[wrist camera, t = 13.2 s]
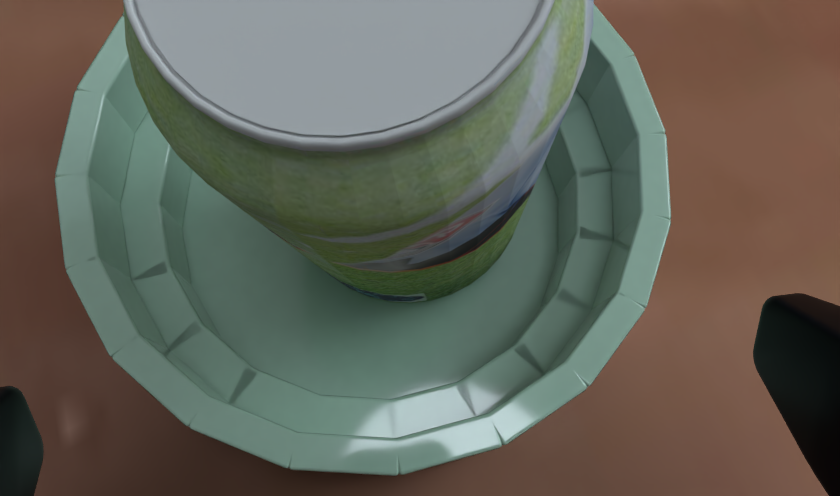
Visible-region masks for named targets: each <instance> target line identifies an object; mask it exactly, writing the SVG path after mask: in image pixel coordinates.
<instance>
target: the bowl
mask: <svg viewBox="0 0 840 496" xmlns="http://www.w3.org/2000/svg"><path fill="white" fill-rule="evenodd" d="M122 15H123V17H120V19H119V20H118V22H117V24H116V25H115V27H114V28H113V30H112V32H111V33H110V35H109V36H108V38H107V40H106V41H105V43H104V44H103V46H102V48H101V49H100V51H99V52H98V54H97V56H96V57H95V59H94V60H93V62H92V64H91V65H90V67H89V68H88V70H87V72H86V73H85V75H84V76H83V78H82V80H81V81H80V83H79V84H78V86H77V90H76V91H75V92H74V96H73V101H72V105H71V109H70V113H69V118H68V122H67V126H66V130H65V135H64V139H63V143H62V147H61V152H60V156H59V160H58V164H57V169H56V173H55V175H56V177H55V187H56V196H57V204H58V213H59V221H60V230H61V238H62V246H63V255H64V263H65V268H66V273H67V275H68V277H69V279H70V281H71V283H72V284H73V286H74V288H75V290H76V292H77V294H78V296H79V298H80V300H81V302H82V304H83V306H84V308H85V310H86V312H87V314H88V315H89V317H90V319H91V321H92V323H93V325H94V327H95V329H96V331H97V333H98V335H99V337H100V339H101V341H102V343H103V344H104V346H105V348H106V350H107V352H108V354H109V356H111V357H112V358H113V360H114V361H115V362H116V363H117V364H118V365H119V366H120V367H121V368H122V369H123V370H125V371H126V372H127V373H128V374H129V375H130V376H131V377H132V378H133V379H134V380H136V381H137V382H138V383H139V384H140V385H141V386H142V387H143V388H144V389H145V390H147V391H148V392H149V393H150V394H151V395H152V396H153V397H154V398H155V399H156V400H158V401H159V402H160V403H161V404H162V405H163V406H164V407H165V408H166V409H167V410H169V411H170V412H171V413H172V414H173V415H174V416H175V417H176V418H177V419H178V420H180V421H181V422H182V423H183V424H184V425H185V426H189V428H190V429H191V430H194V431H196V432H199V433H201V434H204V435H206V436H208V437H211V438H213V439H216V440H218V441H220V442H223V443H225V444H228V445H230V446H233V447H235V448H237V449H240V450H242V451H245V452H247V453H249V454H252V455H254V456H257V457H259V458H261V459H264V460H266V461H269V462H271V463H274V464H276V465H278V466H281V467H283V468H289V469H291V470H303V471H320V472H337V473H355V474H372V475H389V476H396V475H398V473H399V474H401V475H404V474H408V473H412V472H415V471H419V470H422V469H426V468H429V467H433V466H437V465H440V464H444V463H447V462H451V461H455V460H458V459H462V458H465V457H469V456H473V455H476V454H480V453H483V452H487V451H491V450H494V449H498V448H500V447H501V446H502V445H507V444H508V443H510V442H511V441H513V440H514V439H516V438H517V437H519V436H520V435H521V434H523V433H524V432H526V431H527V430H529V429H530V428H532V427H533V426H534V425H536V424H537V423H539V422H540V421H542V420H543V419H545V418H546V417H547V416H549V415H550V414H552V413H553V412H555V411H556V410H558V409H559V408H561V407H562V406H563V405H565V404H566V403H568V402H569V401H571V400H572V399H574V398H575V397H576V396H578V395H579V394H581V393H582V392H584V391H585V390H586V389H587V387H588V386H590V385H591V384H592V383H593V382H594V380H595V379H596V377H597V376H598V375H599V373H600V372H601V370H602V369H603V368H604V366H605V365H606V364H607V362H608V361H609V359H610V358H611V357H612V355H613V354H614V353H615V351H616V350H617V348H618V347H619V346H620V344H621V343H622V341H623V340H624V339H625V337H626V336H627V335H628V333H629V332H630V330H631V329H632V328H633V326H634V325H635V323H636V322H637V321H638V319H639V318H640V317H641V315H642V314H643V312H644V308H646V307H647V304H648V301H649V297H650V294H651V291H652V287H653V284H654V280H655V277H656V273H657V270H658V266H659V263H660V259H661V256H662V253H663V249H664V246H665V242H666V239H667V235H668V232H669V228H670V225H671V221H670V219H671V207H670V190H669V172H668V155H667V137H666V134H665V129H664V126H663V124H662V121H661V119H660V116H659V114H658V111H657V109H656V106H655V104H654V101H653V99H652V96H651V94H650V91H649V89H648V86H647V84H646V81H645V79H644V76H643V74H642V71H641V69H640V66H639V64H638V61H637V59H636V57H635V56H634V52H633V51H632V50H631V49H630V47H629V46H628V45H627V44H626V43H625V41H624V40H623V39H622V38H621V36H620V35H619V34H618V33H617V32H616V30H615V29H614V28H613V27H612V25H611V24H610V23H609V22H608V21H607V19H606V18H605V17H604V16H603V14H602V13H601V12H600V11H599V10H598V8H597V7H596V6H595V5H594V3H593V28H592V33H591V38H590V43H589V48H588V53H587V58H586V63H585V67H584V69H583V72H582V74H581V77H580V79H579V82H578V84H577V87H576V89H575V92H574V94H573V97H572V99H571V102H570V104H569V106H568V109H567V111H566V113H565V116H564V118H563V120H562V123H561V125H560V127H559V130H558V132H557V134H556V136H555V139H554V141H553V143H552V146H551V148H550V150H549V153H548V155H547V157H546V160H545V162H544V164H543V167H542V169H541V171H540V174H539V176H538V178H537V181H536V183H535V185H534V188H533V190H532V192H531V195H530V197H529V199H528V201H527V204H526V206H525V208H524V211H523V213H522V215H521V218H520V220H519V222H518V225H517V227H516V229H515V232H514V234H513V236H512V239H511V241H510V242H509V244H508V245H507V247H506V249H505V250H504V252H503V253H502V255H501V256H500V258H499V259H498V260H497V261H496V262H495V263H494V264H493V265H492V267H491V268H490V269H489V270H488V271H487V272H486V273H485V274H483V275H482V276H481V277H479V278H478V279H477V280H475V281H474V282H473V283H472V284H470V285H468V286H467V287H465V288H463V289H461V290H459V291H457V292H455V293H453V294H451V295H448V296H445V297H441V298H438V299H435V300H432V301H424V302H417V303H395V302H387V301H383V300H378V299H374V298H370V297H367V296H365V295H363V294H360V293H358V292H355V291H353V290H351V289H350V288H348V287H346V286H345V285H343V284H342V283H340V282H339V281H337V280H336V279H334V278H333V277H332V276H330V275H329V274H328V273H326V272H325V271H323V270H322V269H321V268H319V267H318V266H317V265H315V264H314V263H313V262H311V261H310V260H309V259H307V258H306V257H305V256H303V255H302V254H301V253H299V252H298V251H297V250H295V249H294V248H293V247H291V246H290V245H289V244H287V243H286V242H285V241H283V240H282V239H281V238H279V237H278V236H277V235H275V234H274V233H273V232H271V231H270V230H269V229H267V228H266V227H265V226H263V225H262V224H260V223H259V222H258V221H256V220H255V219H254V218H252V217H251V216H250V215H248V214H247V213H246V212H244V211H243V210H242V209H240V208H239V207H238V206H236V205H235V204H234V203H232V202H231V201H230V200H228V199H227V198H226V197H224V196H223V195H222V194H220V193H219V192H218V191H216V190H215V189H214V188H212V187H211V186H210V185H208V184H207V183H206V182H205V181H204V180H203V179H202V178H201V177H200V176H199V175H197V174H196V173H195V172H194V171H193V170H192V169H191V168H190V167H189V166H188V165H187V164H186V163H185V162H184V161H183V160H182V159H181V158H180V157H179V156H178V155H177V154H176V153H175V151H174V150H173V149H172V147H171V146H170V144H169V143H168V142H167V140H166V139H165V138H164V136H163V135H162V133H161V132H160V131H159V129H158V128H157V126H156V125H155V124H154V122H153V120H152V118H151V116H150V114H149V112H148V110H147V107H146V105H145V103H144V101H143V99H142V97H141V94H140V92H139V90H138V88H137V86H136V83H135V79H134V75H133V71H132V67H131V63H130V59H129V55H128V51H127V47H126V41H125V22H124V13H123V14H122Z"/></svg>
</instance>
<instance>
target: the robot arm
mask: <svg viewBox="0 0 840 496" xmlns="http://www.w3.org/2000/svg"><path fill="white" fill-rule="evenodd" d="M753 358H754V363H755V366H756V369H757V371H758V373H759V375H760V377H761V379H762V380H763V382H764V384H765V386H766V388H767V389H768V391H769V393H770V395H771V397H772V399H773V400H774V402H775V404H776V406H777V408H778V410H779V411H780V413H781V415H782V417H783V419H784V421H785V422H786V424H787V426H788V428H789V430H790V431H791V433H792V435H793V437H794V439H795V441H796V442H797V444H798V446H799V448H800V450H801V452H802V453H803V455H804V457H805V459H806V460H807V462H808V464H809V465H810V467H811V469H812V470H813V472H814V474H815V475H816V477H817V478H818V480H819V481H820V483H821V484H822V486H823V488H824V489H825V491H826V492H827V494H828V495H829V496H840V306H838V305H835V304H832V303H829V302H826V301H823V300H820V299H818V298H815V297H812V296H809V295H806V294H800V293H796V294H788V295H779V296H772V297H770V298H769V299H767V300H766V301H765V303H764V304H763V307H762V311H761V316H760V321H759V325H758V330H757V335H756V339H755V344H754V350H753ZM43 453H44V450H43V442H42V438H41V435H40V433H39V431H38V428H37V426H36V423H35V421H34V419H33V416H32V414H31V411H30V409H29V407H28V404H27V402H26V400H25V397H24V395H23V394H22V392H21V391H20V390H19V389H18V388H15V387H13V386H6V387H0V496H34V493H35V489H36V485H37V481H38V477H39V473H40V469H41V466H42V461H43Z"/></svg>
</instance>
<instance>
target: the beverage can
mask: <svg viewBox="0 0 840 496" xmlns="http://www.w3.org/2000/svg"><path fill="white" fill-rule="evenodd" d="M123 2H124V22H125V41H126V47H127V51H128V55H129V59H130V63H131V67H132V71H133V75H134V79H135V83H136V86H137V88H138V90H139V92H140V94H141V97H142V99H143V101H144V103H145V105H146V107H147V110H148V112H149V114H150V116H151V118H152V120H153V122H154V124H155V125H156V126H157V128H158V129H159V131H160V132H161V133H162V135H163V136H164V138H165V139H166V140H167V142H168V143H169V144H170V146H171V147H172V149H173V150H174V151H175V153H176V154H177V155H178V156H179V157H180V158H181V159H182V160H183V161H184V162H185V163H186V164H187V165H188V166H189V167H190V168H191V169H192V170H193V171H194V172H195V173H196V174H197V175H199V176H200V177H201V178H202V179H203V180H204V181H205V182H206V183H207V184H208V185H210V186H211V187H212V188H214V189H215V190H216V191H218V192H219V193H220V194H222V195H223V196H224V197H226V198H227V199H228V200H230V201H231V202H232V203H234V204H235V205H236V206H238V207H239V208H240V209H242V210H243V211H244V212H246V213H247V214H248V215H250V216H251V217H252V218H254V219H255V220H256V221H258V222H259V223H260V224H262V225H263V226H265V227H266V228H267V229H269V230H270V231H271V232H273V233H274V234H275V235H277V236H278V237H279V238H281V239H282V240H283V241H285V242H286V243H287V244H289V245H290V246H291V247H293V248H294V249H295V250H297V251H298V252H299V253H301V254H302V255H303V256H305V257H306V258H307V259H309V260H310V261H311V262H313V263H314V264H315V265H317V266H318V267H319V268H321V269H322V270H323V271H325V272H326V273H328V274H329V275H330V276H332V277H333V278H334V279H336V280H337V281H339V282H340V283H342V284H343V285H345V286H346V287H348V288H350V289H351V290H353V291H355V292H358V293H360V294H363V295H365V296H367V297H370V298H374V299H378V300H383V301H387V302H395V303H417V302H424V301H432V300H435V299H438V298H441V297H445V296H448V295H451V294H453V293H455V292H457V291H459V290H461V289H463V288H465V287H467V286H468V285H470V284H472V283H473V282H474V281H475V280H477V279H478V278H479V277H481V276H482V275H483V274H485V273H486V272H487V271H488V270H489V269H490V268H491V267H492V265H493V264H494V263H495V262H496V261H497V260H498V259H499V258H500V256H501V255H502V253H503V252H504V250H505V249H506V247H507V245H508V244H509V242H510V241H511V239H512V236H513V234H514V232H515V229H516V227H517V225H518V222H519V220H520V218H521V215H522V213H523V211H524V208H525V206H526V204H527V201H528V199H529V197H530V195H531V192H532V190H533V188H534V185H535V183H536V181H537V178H538V176H539V174H540V171H541V169H542V167H543V164H544V162H545V160H546V157H547V155H548V153H549V150H550V148H551V146H552V143H553V141H554V139H555V136H556V134H557V132H558V130H559V127H560V125H561V123H562V120H563V118H564V116H565V113H566V111H567V109H568V106H569V104H570V102H571V99H572V97H573V94H574V92H575V89H576V87H577V84H578V82H579V79H580V77H581V74H582V72H583V69H584V67H585V63H586V58H587V53H588V48H589V43H590V38H591V33H592V28H593V0H123Z"/></svg>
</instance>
